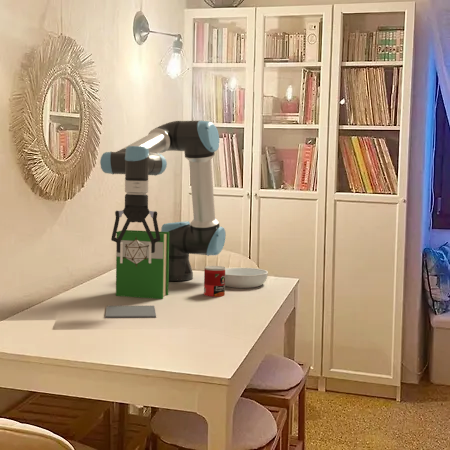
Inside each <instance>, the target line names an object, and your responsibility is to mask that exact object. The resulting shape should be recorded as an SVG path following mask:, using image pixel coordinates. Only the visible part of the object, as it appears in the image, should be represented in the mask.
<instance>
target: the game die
mask: <svg viewBox="0 0 450 450" xmlns="http://www.w3.org/2000/svg"><path fill="white" fill-rule="evenodd" d="M135 239H136V240H134V241H133V242H131V243H130V244H128V245H127V244H125V245H126V246H125V247H126V253H125V257H123V259H125V258H126V259H128V260H130V261H131V262H133V263H135V264H136V267H137V264H138V263H139V262H141V261H142V260H144V259H146V260H147V256H146V254H147V248H148V247H149V245H148V246H147V245H145V244H143V243H142V242H140V241H138V240H137V237H136V238H135Z"/></svg>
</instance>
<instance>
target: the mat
mask: <svg viewBox="0 0 450 450" xmlns="http://www.w3.org/2000/svg"><path fill="white" fill-rule="evenodd" d="M104 317H105V318H104V319H136V318H137V319H138V318H139V319H140V318H141V319H145V318H146V319H153V318H154V319H155V318H157V314H156V307H155V305H106V309H105V315H104Z"/></svg>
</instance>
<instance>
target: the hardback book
mask: <svg viewBox="0 0 450 450" xmlns="http://www.w3.org/2000/svg"><path fill="white" fill-rule="evenodd" d="M121 231H122V229H121V230H117V233H116V238H118V237H119V235H120V233H121ZM150 231H151V233H152V236H153V238H156V234H155V230H154V231H153V230H150ZM159 234H160V241H158V242H156V243H155V252H154V253H151V263H149V247H148V248H147V254H146V256H147V260H146V259H144V260H142V261H141V262H139V263H138V264H137V267H136V264H135V263H133V262H131V261H130V260H128V259H126V258H125V259H123V263H120V253H117V243H116V242H115V244H116V251H115V252H116V253H115V256H116V259H115V267H116V269H115V272H116V273H115V275H116V276H115V296H116V297H128V298H142V299H157V300H163V299H164V297H165V296H168V295H169V280H168V279H169V232H161V231H159ZM136 237H137V240H138V241H140V242H142V243H143V244H145V245H147V246H148V245H149V243H151V240H150V238H149V236H148V234H147V232H146V230H133V229H132V230H131V229H127V230H126V232H125V234H124V236H123V238H122V240H121V242H123V257H125V253H126V247H125V246H126V245H125V244H127V245H128V244H130V243H131V242H133V241H134V240H136V239H135V238H136Z"/></svg>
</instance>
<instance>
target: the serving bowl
mask: <svg viewBox="0 0 450 450" xmlns="http://www.w3.org/2000/svg"><path fill="white" fill-rule="evenodd" d="M268 274H269V271H268V270H266V269H262V268H255V267H225V287H227V288H234V289H236V288H237V289H253V288H257V287H260V286H262V285H263V284H264V283H265V282H266V281H267V278H268Z"/></svg>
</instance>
